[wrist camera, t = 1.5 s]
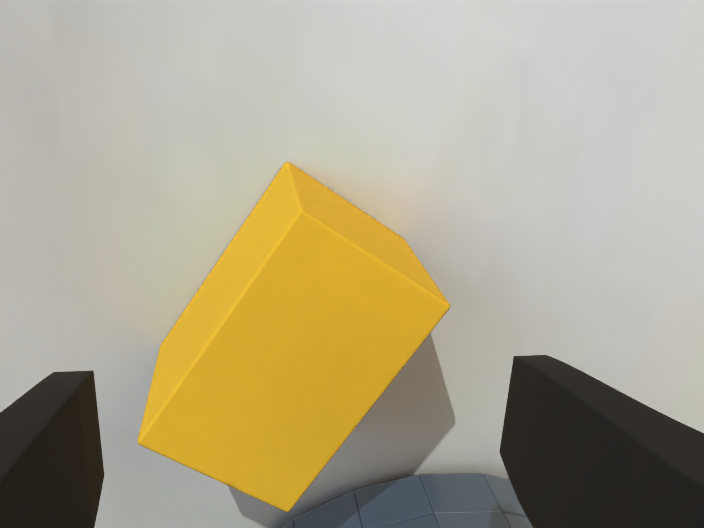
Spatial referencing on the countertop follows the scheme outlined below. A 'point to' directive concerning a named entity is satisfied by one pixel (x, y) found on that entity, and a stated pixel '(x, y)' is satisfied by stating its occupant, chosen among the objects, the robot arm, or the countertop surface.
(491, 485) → the bowl
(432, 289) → the sponge
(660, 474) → the robot arm
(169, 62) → the countertop surface
